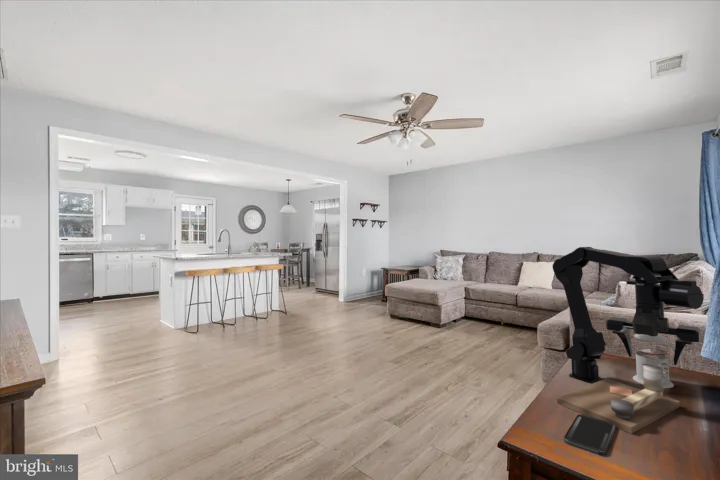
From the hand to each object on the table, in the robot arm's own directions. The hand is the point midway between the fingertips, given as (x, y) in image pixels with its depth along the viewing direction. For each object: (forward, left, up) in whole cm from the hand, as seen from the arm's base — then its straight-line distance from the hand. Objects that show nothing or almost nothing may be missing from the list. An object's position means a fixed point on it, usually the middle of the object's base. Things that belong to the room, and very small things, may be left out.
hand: (652, 360), depth 90 cm
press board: (-5, -8, -12) cm, 15 cm away
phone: (-1, -28, -13) cm, 31 cm away
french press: (-7, +19, -12) cm, 24 cm away
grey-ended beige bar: (0, -8, -9) cm, 12 cm away
